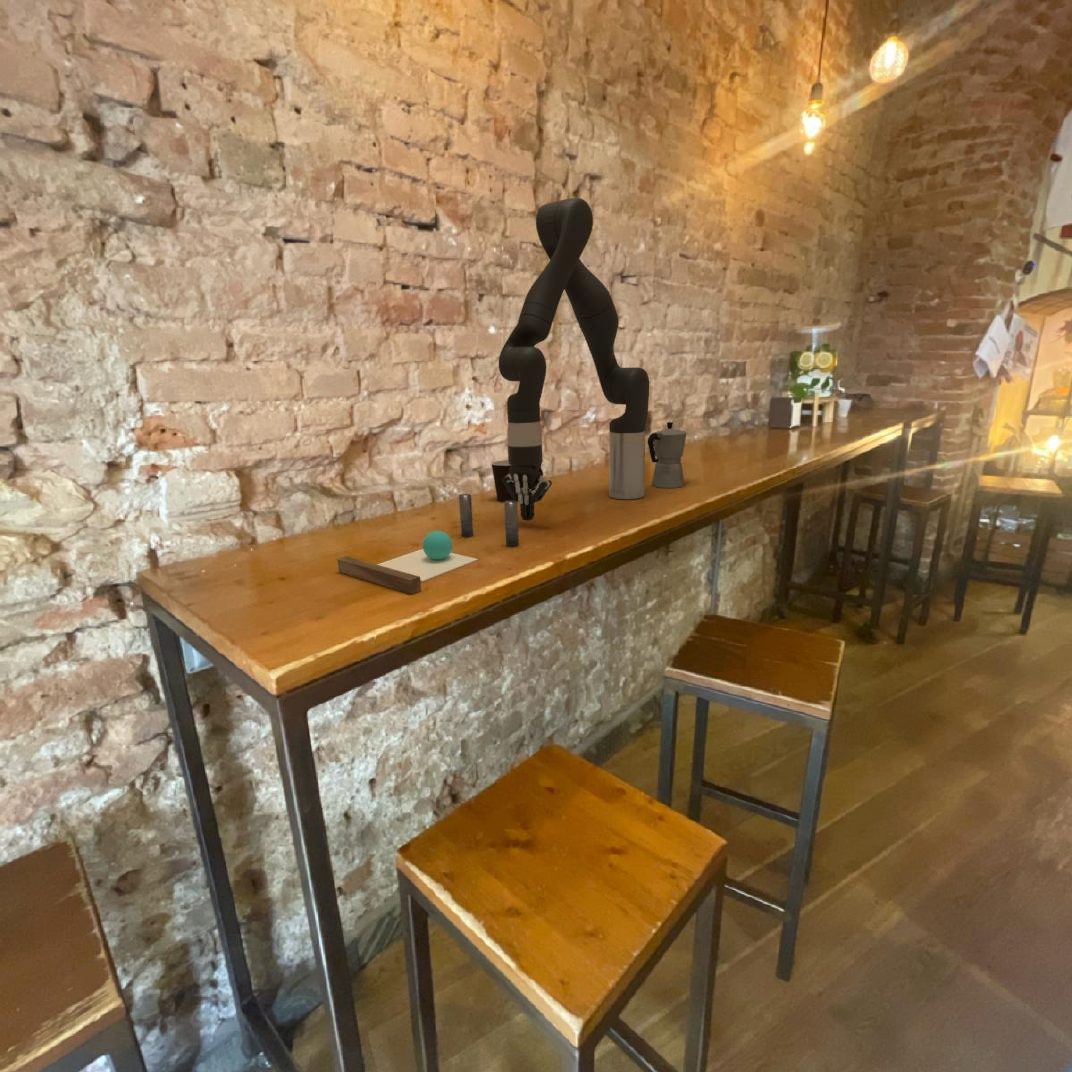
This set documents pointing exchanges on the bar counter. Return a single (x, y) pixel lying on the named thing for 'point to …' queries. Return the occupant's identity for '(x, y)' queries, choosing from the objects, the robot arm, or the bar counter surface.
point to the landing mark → (426, 564)
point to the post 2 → (511, 523)
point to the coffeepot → (667, 457)
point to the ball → (437, 545)
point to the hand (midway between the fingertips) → (527, 519)
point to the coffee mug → (499, 472)
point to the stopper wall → (380, 575)
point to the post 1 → (466, 515)
